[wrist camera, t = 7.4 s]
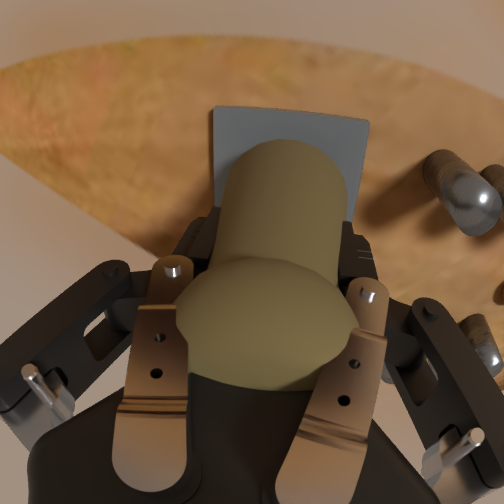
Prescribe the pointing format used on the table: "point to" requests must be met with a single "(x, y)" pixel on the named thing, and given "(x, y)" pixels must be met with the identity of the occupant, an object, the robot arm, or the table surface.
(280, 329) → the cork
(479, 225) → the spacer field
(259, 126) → the coaster
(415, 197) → the table surface
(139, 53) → the table surface
